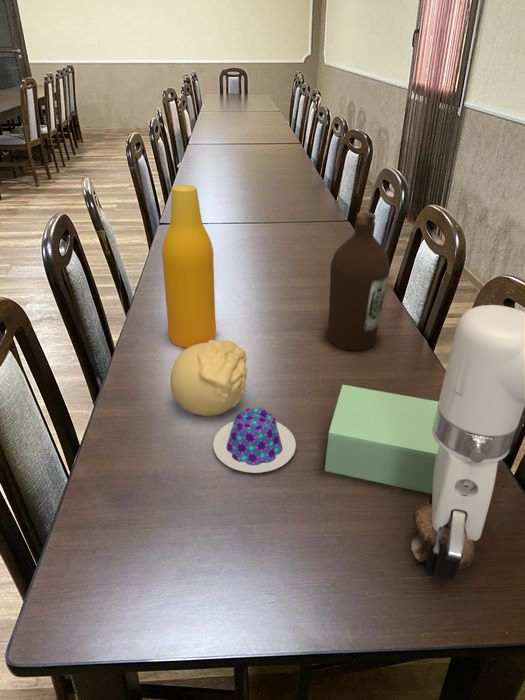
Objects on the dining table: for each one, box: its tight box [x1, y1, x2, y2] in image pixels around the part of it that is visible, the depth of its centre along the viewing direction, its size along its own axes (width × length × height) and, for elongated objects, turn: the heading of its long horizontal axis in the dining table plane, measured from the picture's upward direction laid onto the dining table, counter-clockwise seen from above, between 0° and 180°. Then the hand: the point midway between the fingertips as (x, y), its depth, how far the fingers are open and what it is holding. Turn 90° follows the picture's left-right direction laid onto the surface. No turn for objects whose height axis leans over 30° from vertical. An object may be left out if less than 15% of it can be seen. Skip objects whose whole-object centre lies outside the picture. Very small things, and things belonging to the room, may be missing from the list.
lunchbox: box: [324, 436, 436, 495], centre depth 76 cm, size 15×12×6 cm
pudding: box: [212, 407, 297, 474], centre depth 77 cm, size 12×12×5 cm
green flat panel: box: [327, 384, 439, 457], centre depth 74 cm, size 15×12×1 cm
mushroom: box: [410, 503, 476, 569], centre depth 62 cm, size 8×8×6 cm
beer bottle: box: [161, 184, 217, 349], centre depth 98 cm, size 9×9×29 cm
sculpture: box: [169, 339, 248, 417], centre depth 84 cm, size 11×12×11 cm
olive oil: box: [327, 211, 390, 352], centre depth 100 cm, size 11×11×25 cm
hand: (439, 543), depth 63 cm, fingers closed on mushroom, 7 cm apart
